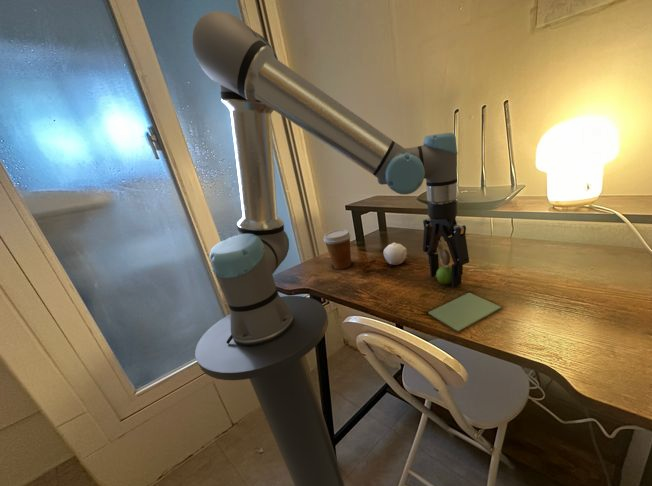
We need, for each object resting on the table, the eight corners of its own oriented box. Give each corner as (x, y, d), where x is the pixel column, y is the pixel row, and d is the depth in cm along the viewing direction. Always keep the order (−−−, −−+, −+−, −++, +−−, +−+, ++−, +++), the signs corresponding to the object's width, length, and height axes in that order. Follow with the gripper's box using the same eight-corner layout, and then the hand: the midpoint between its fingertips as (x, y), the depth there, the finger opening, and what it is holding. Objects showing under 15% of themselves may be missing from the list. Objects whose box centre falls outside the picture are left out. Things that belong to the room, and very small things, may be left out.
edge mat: (457, 332, 66) (457, 330, 66) (428, 313, 74) (427, 312, 74) (501, 308, 71) (501, 306, 71) (469, 293, 79) (469, 292, 79)
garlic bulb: (407, 258, 106) (405, 237, 103) (408, 267, 100) (406, 245, 96) (385, 260, 107) (382, 240, 104) (384, 269, 101) (381, 247, 97)
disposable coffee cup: (345, 272, 103) (338, 239, 98) (324, 269, 108) (316, 237, 103) (360, 261, 110) (355, 229, 105) (340, 259, 115) (333, 228, 110)
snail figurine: (449, 276, 90) (448, 238, 85) (459, 285, 84) (458, 244, 79) (432, 280, 89) (429, 241, 84) (441, 289, 83) (439, 249, 78)
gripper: (486, 201, 70) (483, 288, 79) (426, 193, 86) (431, 265, 96) (462, 209, 66) (463, 298, 76) (405, 199, 83) (412, 273, 93)
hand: (445, 280), depth 86 cm, fingers open, 8 cm apart
